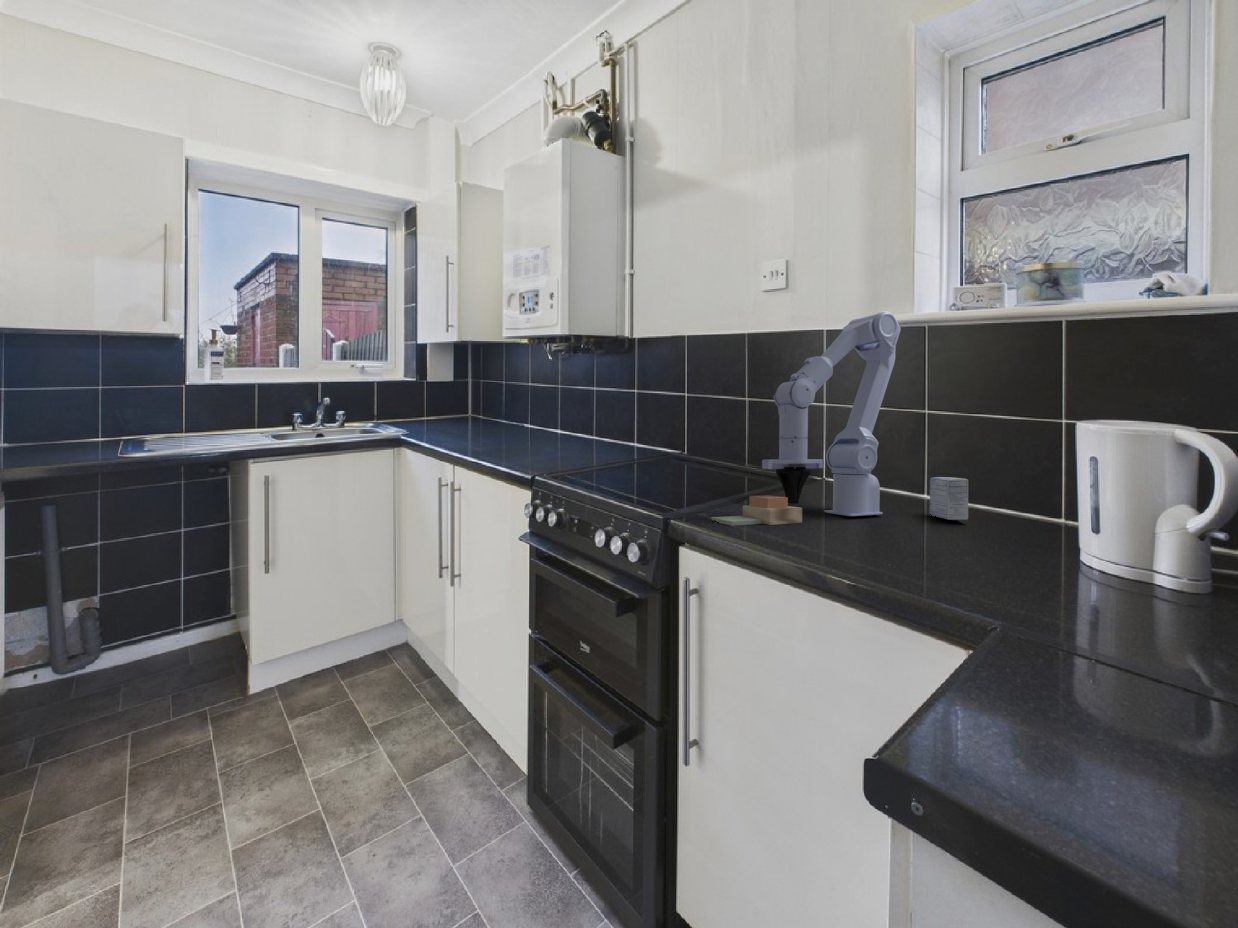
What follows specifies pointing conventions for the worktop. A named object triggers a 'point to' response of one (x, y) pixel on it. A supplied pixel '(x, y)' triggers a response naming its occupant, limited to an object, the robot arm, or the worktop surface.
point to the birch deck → (774, 514)
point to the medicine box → (949, 498)
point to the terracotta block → (768, 501)
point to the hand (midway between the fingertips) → (792, 503)
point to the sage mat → (737, 520)
